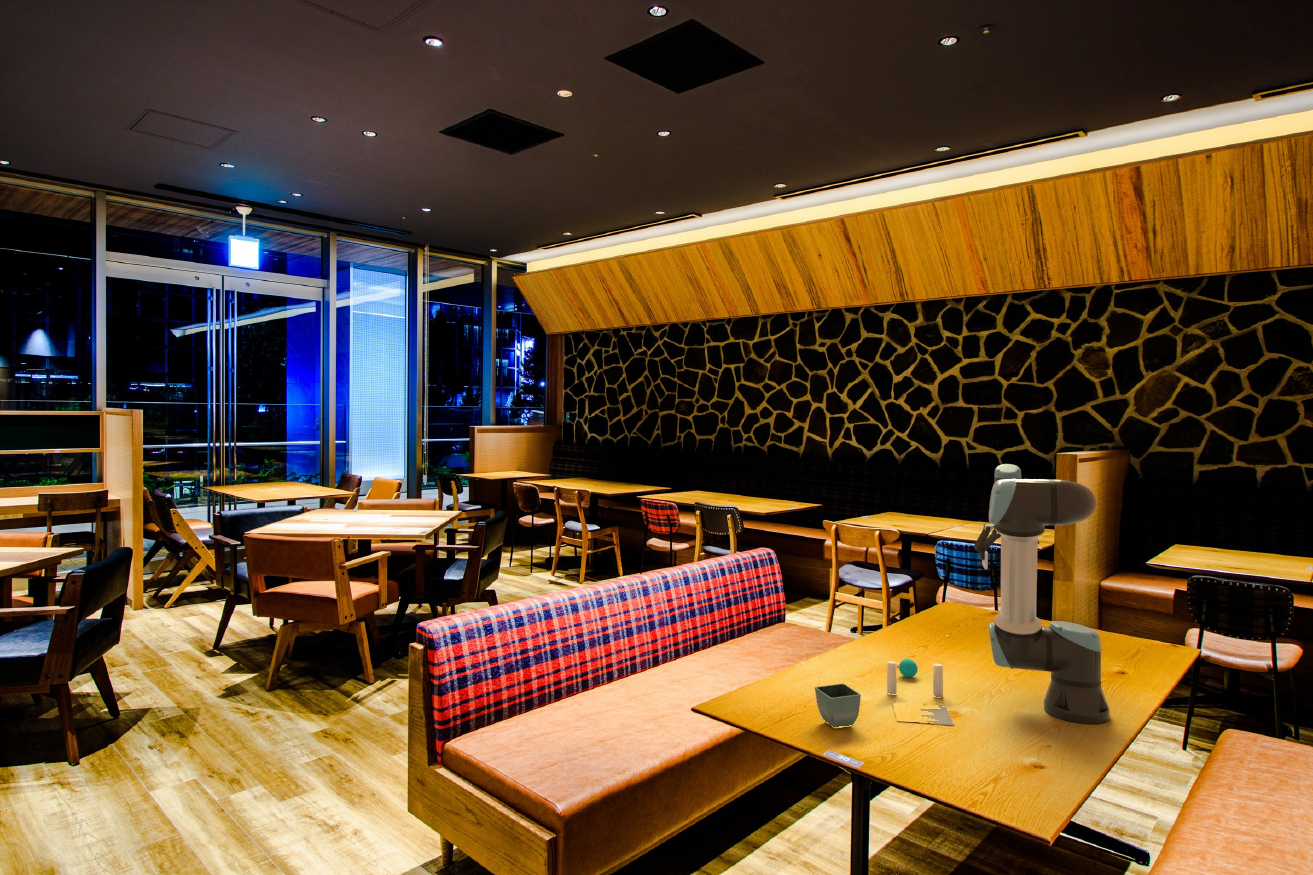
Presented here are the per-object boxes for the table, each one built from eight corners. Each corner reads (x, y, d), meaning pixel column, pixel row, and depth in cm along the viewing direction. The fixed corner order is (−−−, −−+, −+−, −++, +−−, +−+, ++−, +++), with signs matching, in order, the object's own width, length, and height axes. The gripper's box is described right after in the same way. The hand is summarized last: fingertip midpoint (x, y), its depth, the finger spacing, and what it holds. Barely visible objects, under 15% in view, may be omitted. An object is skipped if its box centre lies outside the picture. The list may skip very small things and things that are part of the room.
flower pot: (831, 733, 181) (830, 698, 181) (814, 720, 189) (813, 686, 189) (862, 729, 183) (861, 694, 183) (844, 716, 192) (843, 682, 192)
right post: (943, 698, 204) (943, 666, 204) (934, 697, 205) (933, 666, 205) (942, 695, 206) (941, 663, 206) (932, 694, 207) (932, 663, 207)
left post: (897, 695, 207) (896, 664, 207) (887, 694, 207) (887, 663, 207) (896, 692, 209) (895, 661, 209) (886, 691, 210) (886, 660, 210)
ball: (918, 680, 219) (918, 662, 219) (899, 679, 220) (899, 661, 220) (916, 674, 225) (916, 656, 225) (897, 673, 226) (897, 655, 226)
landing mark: (954, 725, 185) (954, 724, 185) (896, 721, 188) (896, 720, 188) (944, 705, 199) (944, 705, 199) (891, 702, 202) (891, 701, 202)
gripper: (1041, 499, 236) (1039, 553, 245) (963, 509, 239) (963, 562, 247) (1052, 510, 229) (1049, 566, 238) (971, 520, 232) (971, 575, 240)
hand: (1005, 564), depth 242 cm, fingers open, 13 cm apart
